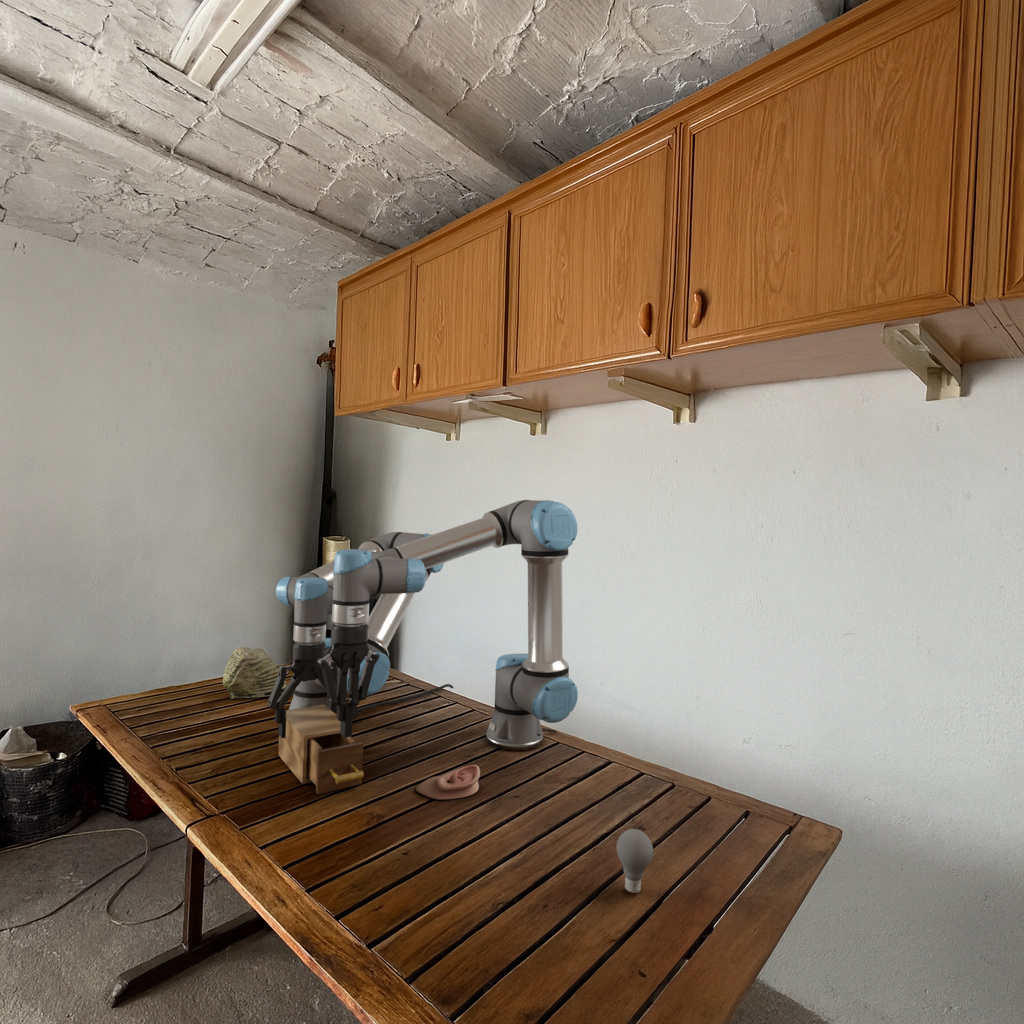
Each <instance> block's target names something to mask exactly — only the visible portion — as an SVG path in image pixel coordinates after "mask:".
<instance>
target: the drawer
mask: <svg viewBox="0 0 1024 1024" xmlns="http://www.w3.org/2000/svg"><path fill="white" fill-rule="evenodd" d="M363 757H364V743H363V741H358V742H356V740H354V739H353V738H352V737H347V738H344V737H343V736H342V735H341V734H340V733H337V734H332V735H326V736H321V737H315V738H310V739H308V743H307V773H306V775H307V776H308V777H309V778H310V779H311V780H312V782H311V783H313V784H314V785H315V793H316V794H317V795H320V794H324V793H325V794H326V793H328V792H329V793H330V792H333V791H337V790H338V791H339V790H341V789H346V788H350V787H354V786H359V785H362V784H363V778H364V777H365V773H364V771H363V761H364V760H363Z"/></svg>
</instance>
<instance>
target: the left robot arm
mask: <svg viewBox="0 0 1024 1024" xmlns="http://www.w3.org/2000/svg"><path fill="white" fill-rule="evenodd" d="M430 535H432V534H431V533H430V534H429V533H418V532H417V533H416V532H405V531H404V532H403V531H391V532H387V533H385V534H381V535H378V536H376V537H373V538H370V539H369V540H367V541H364V542H363V543H361V544H360V545H359V546H358V549H360V550H368V551H370V552H382V551H385V550H388V549H391V548H395V547H397V546H400V545H403V544H406V543H409V542H412V541H415V540H418V539H421V538H424V537H427V536H430ZM444 564H445V563H442V564H439V565H437V566H434V567H431V568H428V569H425V570H426V581H425V583H426V582H428V580H429V577H430V576H431V574H432V573H433V574H437V573H440V572H441V571H442V570H443V568H444ZM333 570H334V560H332V561H331V562H327V563H326V564H323V565H321V566H319V567H317V568H315V569H313V570H311V571H309V572H307V573H304V574H302V575H300V576H293V575H292V576H284V577H282V578H281V579H279V581H278V582H277V585H276V588H275V595H276V599H277V601H278V602H279V603H280V604H282V605H287V606H290V607H294V613H293V615H294V616H293V617H294V618H293V637H292V641H293V642H294V643H293V644H292V661H291V664H290V665H283V664H280V665H278V667H277V668H278V677H277V679H276V682H275V685H274V687H273V690H272V692H271V695H270V696H269V697H268V700H267V703H266V705H267V706H268V708H269V709H271V710H275V711H274V713H275V714H274V721H275V723H276V724H277V725H278V736H279V735H280V737H281V738H285V726H286V710H287V709H286V708H285V706H286V704H288V702H289V700H290V698H291V697H292V696H293V697H292V699H291V702H290V704H289V708H288V710H292V709H299V708H305V707H311V706H318V705H325V706H326V707H328V708H329V709H330V710H331V711H332V712H334V713H335V714H336V715H337V705H333V704H332V703H331V702H329V701H328V697H327V692H326V687H325V682H324V677H323V673H322V669H321V667H320V666H319V664H318V663H317V660H318V659H319V658H323V657H325V656H326V655H327V654H328V651H329V649H330V647H331V637H327V616H328V615H332V604H333ZM415 594H416V593H409V594H407V593H400V594H380V596H379V598H378V600H377V601H376V603H375V605H374V607H373V608H372V611H371V612H370V613H369V621H368V622H366V624H367V625H368V642H367V644H368V646H369V651H371V652H374V653H376V654H377V655H379V659H378V661H377V662H376V664H375V666H374V669H373V673H372V677H371V681H370V684H369V688H368V692H367V696H366V697H370V696H372V695H373V696H374V695H375V694H377V693H378V692H380V691H381V690H382V689H383V687H384V686H385V685H386V683H387V682H388V678H389V676H390V670H391V661H390V659H389V656H390V653H389V650H388V647H389V646H390V643H391V641H392V640H393V637H394V635H395V634H396V631H397V629H398V627H399V626H400V623H401V622H402V620H403V617H404V616H405V614H406V612H407V610H408V608H409V606H410V604H411V602H412V600H413V598H414V596H415ZM365 661H366V659H365V658H364V660H363V661H362V663H361V664H360V672H359V683H360V679H361V675H362V671H363V668H364V664H365ZM330 668H331V671H332V675H333V680H334V685H335V690H336V695H337V673H338V672H337V665H336V664H335V663H334V661H333V660H332V659H331V666H330ZM290 672H292V673H293V675H292V676H291V678H290V681H289V682H288V683H287V684H286V685H287V687H286V689H285V690H284V692H283V693H281V690H282V687H283V685H284V682H285V680H286V679H287V676H288V675H289V674H290ZM445 688H450V689H454V686H453V685H452V684H450V683H446V684H442V685H441V686H438V687H434V688H431V689H429V690H426V691H423V692H421V693H417V694H413V695H410V696H406V697H401V698H398V699H392V700H387V701H382V702H377V703H371V704H369V705H365V706H362V707H357V712H361V711H364V710H368V709H372V708H375V707H379V706H385V705H390V704H396V703H400V702H405V701H408V700H412V699H416V698H420V697H423V696H426V695H428V694H431V693H434V692H436V691H440V690H442V689H445ZM348 692H349V668H348V674H347V692H346V694H348Z"/></svg>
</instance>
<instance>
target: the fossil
mask: <svg viewBox="0 0 1024 1024" xmlns="http://www.w3.org/2000/svg"><path fill="white" fill-rule="evenodd" d="M222 676H223V677H222V685H223V687H224V688H225V690H226V691H228V693H229V698H230V699H250V698H264V697H270V695H271V692H272V690H273V687H274V685H275V682H276V679H277V677H278V667H277V665H276V663H275V662H274V660H273V659H272V658H271V657H270V656H269V655H268V654H267V653H266V652H265V650H264V649H263V648H260V647H258V648H251V647H247V646H246V647H245V646H238V647H237V648H236V649H235V650H233V651H232V653H231V656H230V657H229V659H228V660H227V663H226V666H225V668H224V671H223V675H222ZM287 685H288V684H287V680H286V679H285V682H284V685H283V687H282V690H281V693H280V694H282V693H283V692H284V690H285V689H286V687H287Z"/></svg>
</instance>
